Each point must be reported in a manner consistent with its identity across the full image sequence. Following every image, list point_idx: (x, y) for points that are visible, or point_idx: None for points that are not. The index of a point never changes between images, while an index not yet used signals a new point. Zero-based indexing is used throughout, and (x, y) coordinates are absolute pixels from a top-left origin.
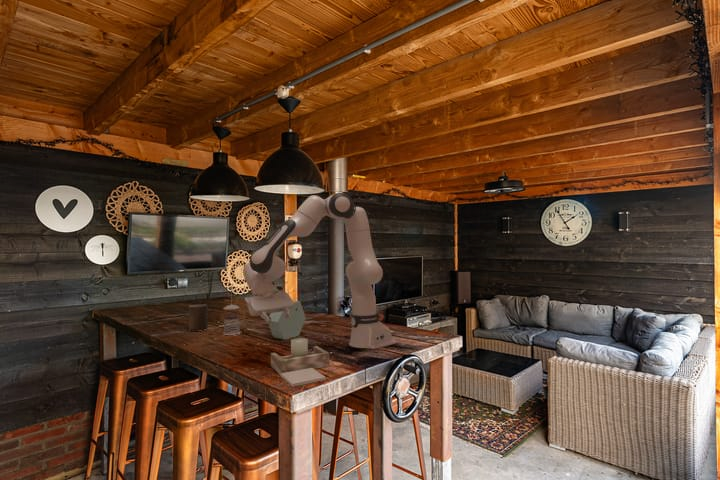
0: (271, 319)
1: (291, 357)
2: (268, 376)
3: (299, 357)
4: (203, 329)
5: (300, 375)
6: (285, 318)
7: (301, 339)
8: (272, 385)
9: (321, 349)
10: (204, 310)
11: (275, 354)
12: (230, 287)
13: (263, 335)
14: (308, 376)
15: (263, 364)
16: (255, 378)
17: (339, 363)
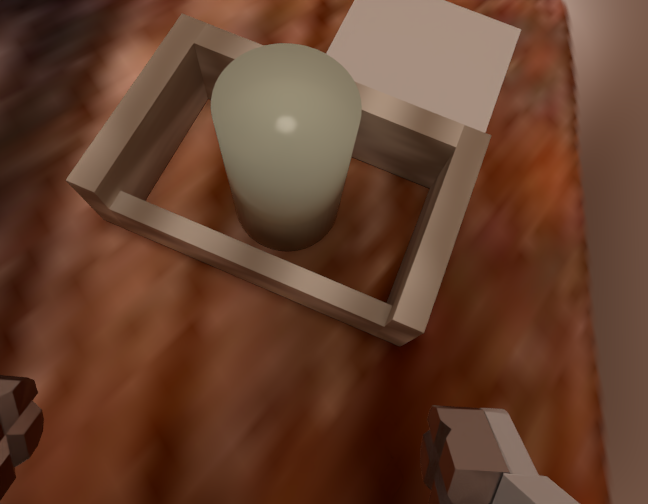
0: (436, 406)
1: (339, 199)
2: (513, 218)
3: (364, 96)
4: None
5: (427, 65)
6: (30, 454)
7: (263, 99)
8: (565, 115)
9: (134, 95)
10: None
11: (420, 276)
12: None
13: None
14: (412, 30)
15: (405, 426)
16: (578, 251)
17: (128, 58)
